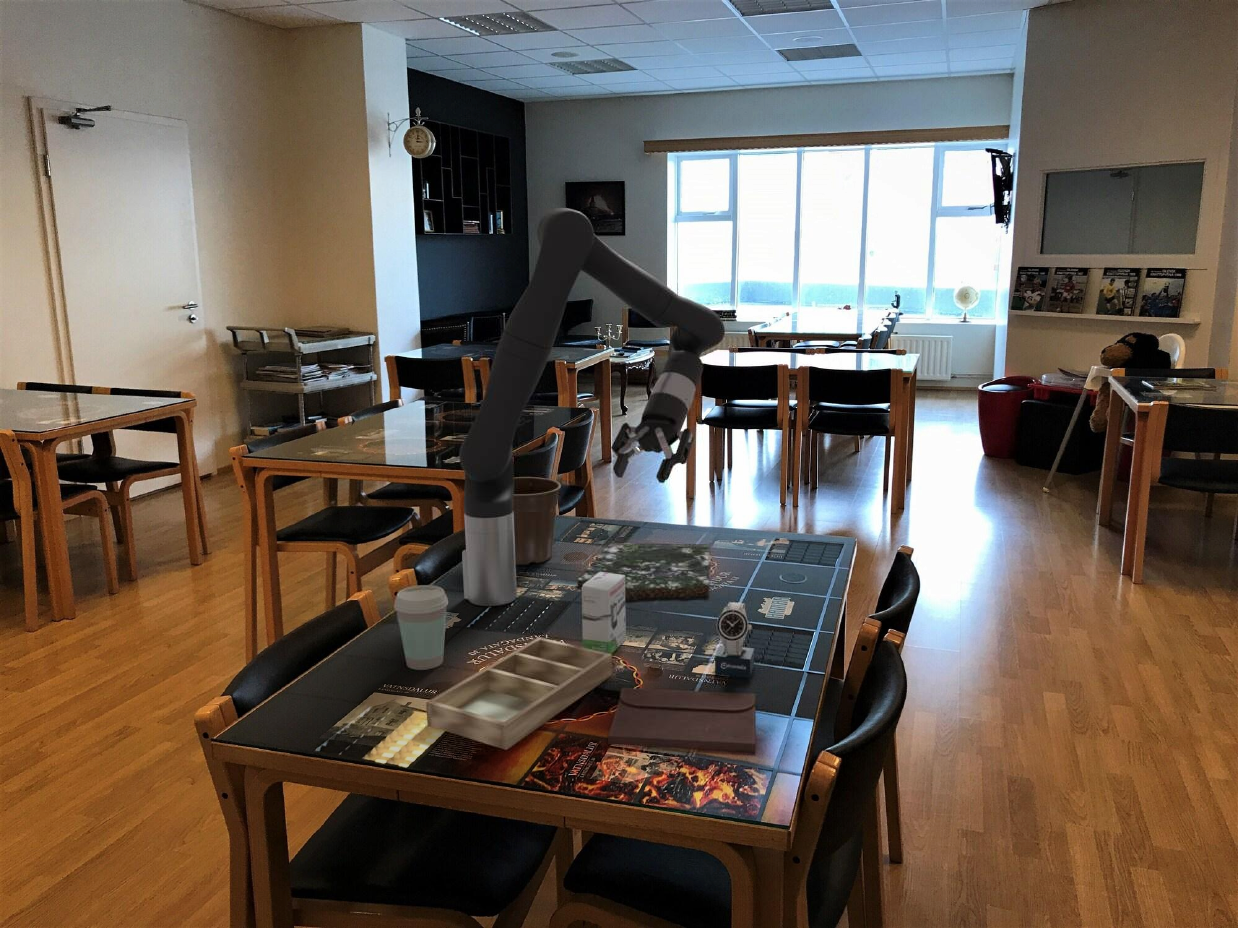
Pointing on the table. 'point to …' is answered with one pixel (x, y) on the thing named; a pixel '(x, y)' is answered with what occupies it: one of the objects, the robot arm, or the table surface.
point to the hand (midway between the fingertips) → (638, 477)
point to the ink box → (604, 612)
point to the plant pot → (534, 518)
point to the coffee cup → (422, 625)
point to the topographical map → (655, 569)
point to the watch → (733, 643)
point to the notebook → (684, 720)
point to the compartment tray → (519, 692)
